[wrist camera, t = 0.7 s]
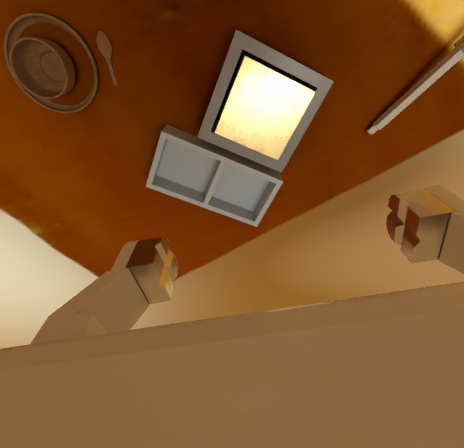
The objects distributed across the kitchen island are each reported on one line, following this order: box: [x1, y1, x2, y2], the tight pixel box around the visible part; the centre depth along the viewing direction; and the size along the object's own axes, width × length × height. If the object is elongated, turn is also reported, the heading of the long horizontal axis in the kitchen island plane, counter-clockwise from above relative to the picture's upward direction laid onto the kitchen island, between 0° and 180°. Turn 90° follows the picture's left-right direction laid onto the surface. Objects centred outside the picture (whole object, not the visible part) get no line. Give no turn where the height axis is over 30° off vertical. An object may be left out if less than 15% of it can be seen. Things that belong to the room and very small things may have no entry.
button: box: [215, 55, 315, 160], centre depth 39 cm, size 10×10×4 cm
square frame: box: [198, 30, 334, 173], centre depth 40 cm, size 14×14×4 cm
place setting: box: [4, 13, 117, 113], centre depth 34 cm, size 18×20×6 cm
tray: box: [146, 124, 283, 227], centre depth 46 cm, size 20×10×4 cm, turn 67°
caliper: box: [367, 36, 464, 135], centre depth 36 cm, size 20×1×6 cm, turn 145°
